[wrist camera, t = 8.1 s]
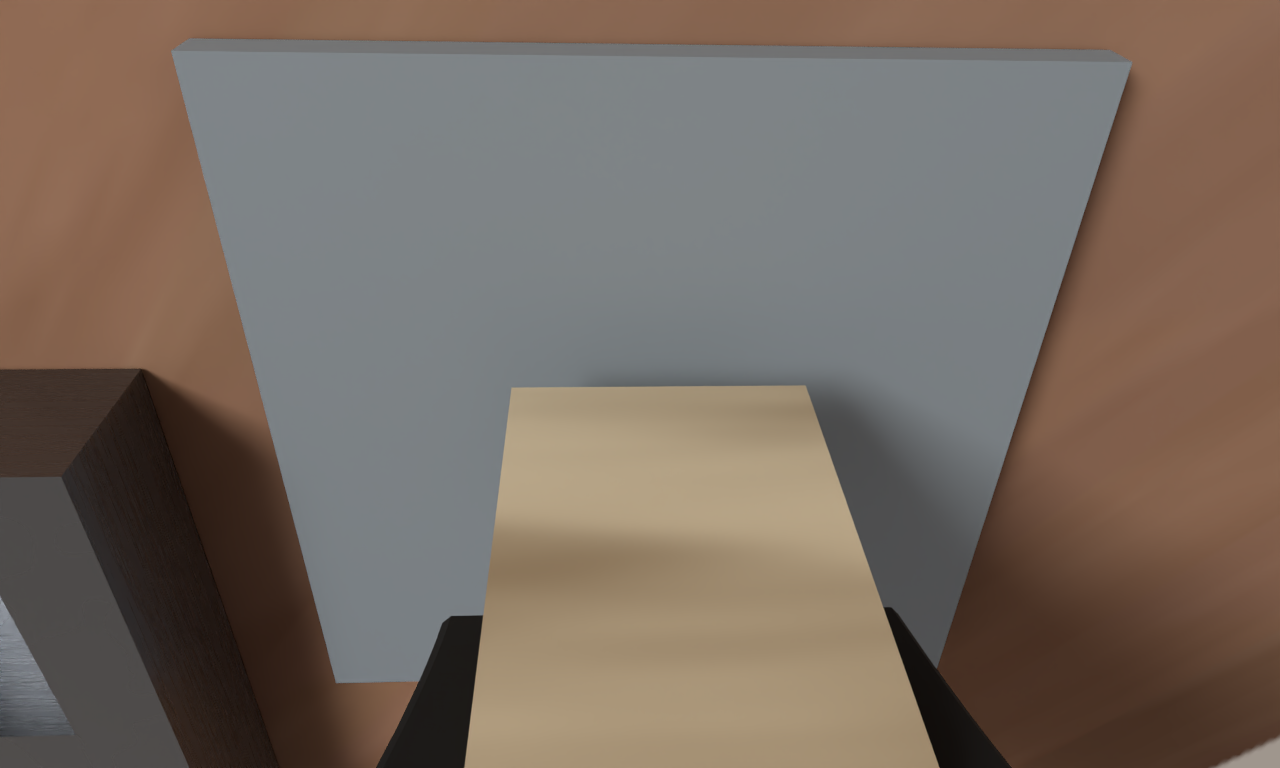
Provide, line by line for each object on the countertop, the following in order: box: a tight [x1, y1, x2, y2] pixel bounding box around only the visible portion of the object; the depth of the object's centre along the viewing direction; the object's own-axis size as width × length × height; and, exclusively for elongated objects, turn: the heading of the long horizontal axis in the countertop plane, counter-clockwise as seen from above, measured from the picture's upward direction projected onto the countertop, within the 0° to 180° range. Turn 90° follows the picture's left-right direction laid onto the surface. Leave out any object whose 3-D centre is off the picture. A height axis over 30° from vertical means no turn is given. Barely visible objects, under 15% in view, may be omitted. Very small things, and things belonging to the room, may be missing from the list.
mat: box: [171, 39, 1132, 683], centre depth 15 cm, size 12×12×1 cm
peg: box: [464, 385, 939, 768], centre depth 11 cm, size 4×4×6 cm
